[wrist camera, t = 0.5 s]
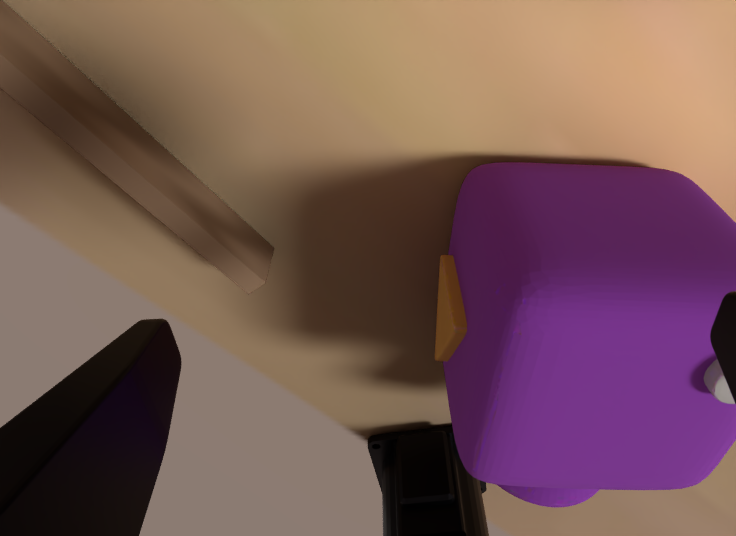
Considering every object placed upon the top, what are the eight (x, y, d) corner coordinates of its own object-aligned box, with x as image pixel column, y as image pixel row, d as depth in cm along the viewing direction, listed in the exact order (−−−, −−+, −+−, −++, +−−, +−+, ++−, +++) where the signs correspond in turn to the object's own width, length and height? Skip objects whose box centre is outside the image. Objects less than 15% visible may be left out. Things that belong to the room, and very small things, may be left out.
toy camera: (437, 387, 30) (461, 578, 22) (411, 158, 22) (433, 329, 14) (642, 367, 29) (745, 560, 21) (692, 120, 21) (885, 280, 13)
